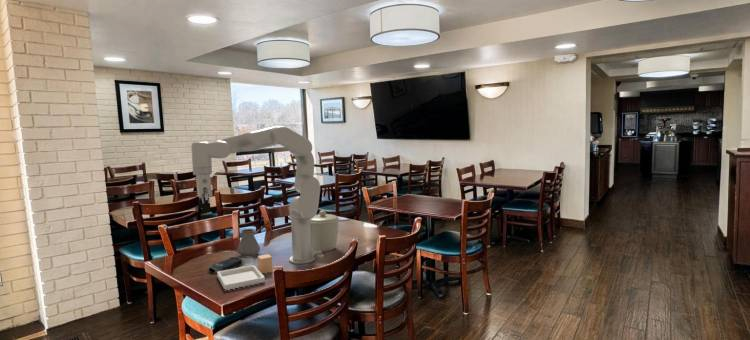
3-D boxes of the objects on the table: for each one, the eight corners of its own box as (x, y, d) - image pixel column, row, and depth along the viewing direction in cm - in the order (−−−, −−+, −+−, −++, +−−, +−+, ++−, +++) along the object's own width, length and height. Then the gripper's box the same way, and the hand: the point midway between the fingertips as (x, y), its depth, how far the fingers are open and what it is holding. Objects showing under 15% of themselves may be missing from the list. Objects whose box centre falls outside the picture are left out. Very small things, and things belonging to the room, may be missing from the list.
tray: (254, 270, 185) (254, 265, 185) (265, 282, 170) (264, 277, 169) (217, 277, 177) (217, 271, 177) (225, 291, 162) (224, 285, 161)
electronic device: (228, 265, 198) (203, 270, 184) (230, 254, 198) (205, 259, 184) (242, 270, 194) (218, 276, 180) (244, 259, 194) (220, 264, 180)
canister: (317, 256, 204) (316, 215, 202) (300, 248, 218) (299, 210, 216) (347, 249, 215) (346, 210, 213) (328, 242, 229) (327, 205, 227)
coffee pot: (246, 259, 200) (244, 230, 199) (232, 255, 207) (231, 227, 206) (279, 249, 217) (278, 221, 216) (266, 245, 224) (265, 219, 223)
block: (269, 268, 187) (268, 254, 186) (272, 272, 183) (271, 257, 182) (258, 270, 185) (257, 255, 184) (261, 274, 180) (260, 258, 180)
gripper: (215, 172, 166) (217, 212, 168) (208, 168, 181) (210, 206, 183) (195, 173, 163) (197, 214, 164) (190, 169, 177) (192, 207, 179)
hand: (204, 210), depth 174 cm, fingers open, 9 cm apart
